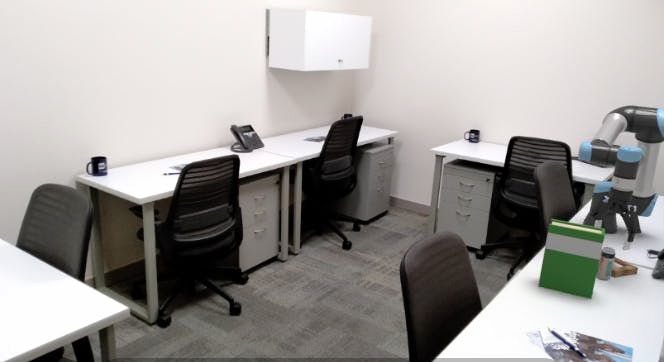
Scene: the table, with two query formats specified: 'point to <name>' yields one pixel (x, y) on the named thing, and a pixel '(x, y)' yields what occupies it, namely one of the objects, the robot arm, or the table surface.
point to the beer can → (606, 263)
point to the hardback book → (571, 258)
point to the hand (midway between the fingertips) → (610, 242)
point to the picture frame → (622, 268)
